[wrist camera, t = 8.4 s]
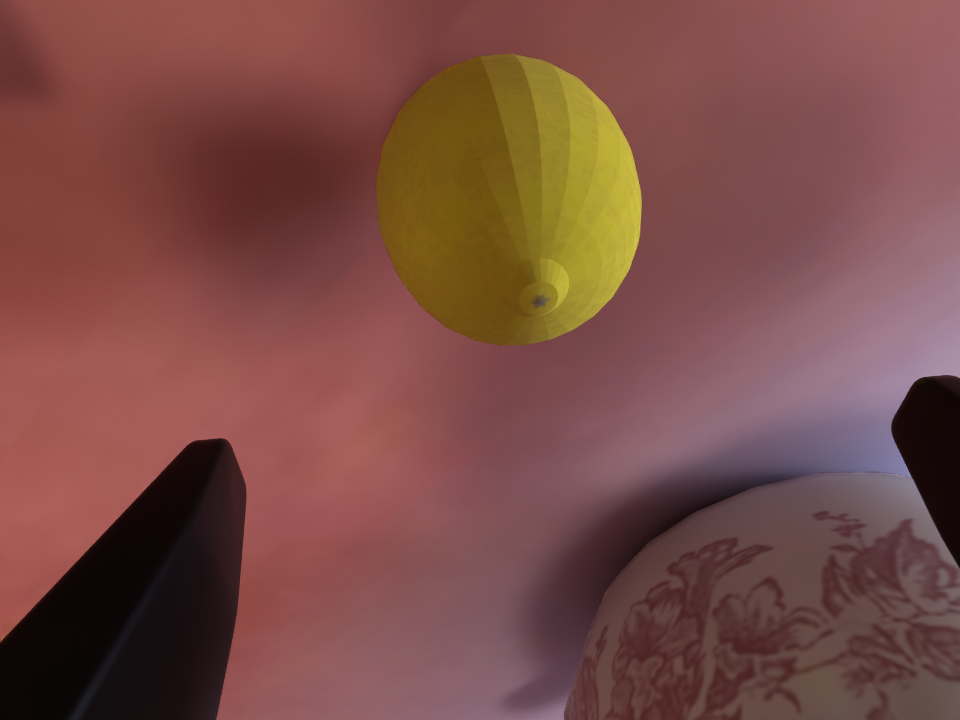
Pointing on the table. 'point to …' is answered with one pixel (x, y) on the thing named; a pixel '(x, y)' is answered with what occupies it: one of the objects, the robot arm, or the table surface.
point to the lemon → (508, 200)
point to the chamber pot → (783, 611)
